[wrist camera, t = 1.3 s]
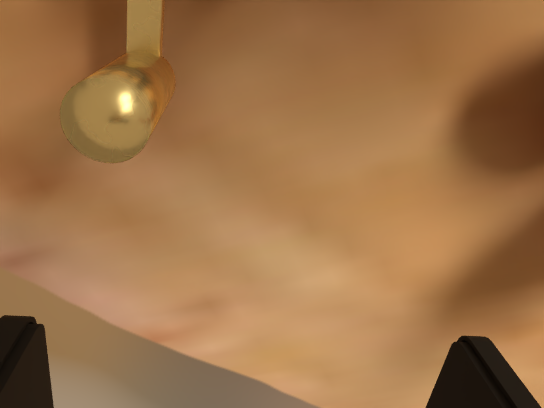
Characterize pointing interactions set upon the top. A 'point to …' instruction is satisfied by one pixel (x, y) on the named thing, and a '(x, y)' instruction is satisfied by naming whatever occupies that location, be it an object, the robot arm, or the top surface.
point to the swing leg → (122, 92)
